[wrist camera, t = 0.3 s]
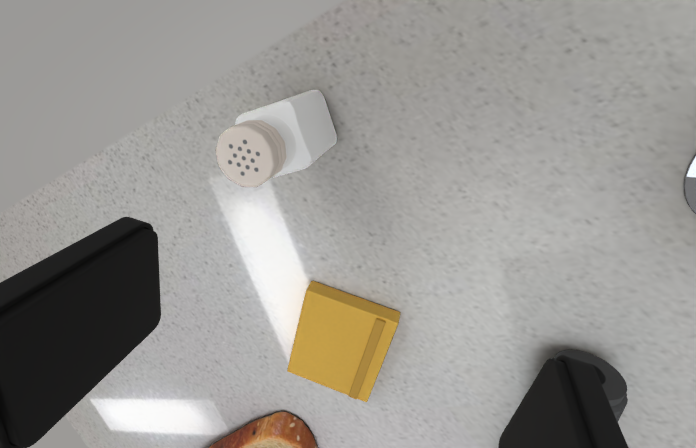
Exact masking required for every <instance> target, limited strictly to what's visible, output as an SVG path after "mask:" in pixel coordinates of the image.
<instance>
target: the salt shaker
mask: <svg viewBox="0 0 696 448" xmlns="http://www.w3.org/2000/svg"><path fill="white" fill-rule="evenodd" d="M336 143H337V135H336V132H335V128H334V125H333V122H332V119H331V116H330V113H329V110H328V107H327V104H326V101H325V98H324V95H323V94H322V93H321V92H320V90H310V91H307V92H304V93H301V94H298V95H295V96H292V97H290V98H287V99H284V100H281V101H278V102H275V103H272V104H269V105H266V106H263V107H261V108H258V109H255V110H252V111H249V112H246V113H243V114H240V115H239V117H238V118H237V119H236V125H234V126H231V127H230V128H229V129H227V130H226V131H225V132H223V133H222V134H221V135H220V137H219V140H218V143H217V146H216V149H215V150H216V155H217V160H218V165H219V167H220V168H221V170H222V171H223V172H224V174H225V175H226V177H227V178H228V179H229V180H231V181H233V182H234V183H236V184H238V185H240V186H241V187H258V186H260V185H261V184H263V183H264V182H266V181H267V180H269V179H270V178H273V177H278V176H282V175H286V174H289V173H293V172H296V171H299V170H302V169H305V168H307V167H309V166H310V165H311V164H312V163H313V162H314V161H316V160H317V159H318V158H319V157H320V156H321V155H323V154H324V153H325V152H326V151H327V150H329V149H330V148H331V147H332V146H333V145H334V144H336Z"/></svg>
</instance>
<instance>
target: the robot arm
mask: <svg viewBox="0 0 696 448" xmlns="http://www.w3.org/2000/svg"><path fill="white" fill-rule="evenodd" d="M160 317H161V307H160V283H159V259H158V237H157V234H156V232H154V231H153V227H152V226H151V225H150V224H149V223H146V222H143V221H140V220H136V219H133V218H130V217H124V218H121V219H119V220H117V221H115V222H113V223H111V224H110V225H108V226H106V227H104V228H102V229H100V230H98V231H96V232H95V233H93V234H91V235H89V236H87V237H85V238H83V239H81V240H80V241H78V242H76V243H74V244H72V245H70V246H68V247H66V248H65V249H63V250H61V251H59V252H57V253H55V254H53V255H51V256H50V257H48V258H46V259H44V260H42V261H40V262H38V263H36V264H35V265H33V266H31V267H29V268H27V269H25V270H23V271H22V272H20V273H18V274H16V275H14V276H12V277H10V278H8V279H7V280H5V281H3V282H1V283H0V448H27V447H30V446H31V445H33V444H34V443H36V442H37V441H38V440H39V439H41V438H42V437H43V436H44V435H45V434H46V433H47V432H48V431H49V430H50V429H51V428H52V427H53V426H54V425H55V424H56V423H57V422H58V421H59V420H60V419H61V418H62V417H63V416H65V415H66V414H67V413H68V412H69V411H70V410H71V409H72V408H73V407H74V406H75V405H76V404H77V403H78V402H79V401H80V400H81V399H82V398H83V397H84V396H85V395H86V394H87V393H88V392H90V391H91V390H92V389H93V388H94V387H95V386H96V385H97V384H98V383H99V382H100V381H101V380H102V379H103V378H104V377H105V376H106V375H107V374H108V373H109V372H110V371H111V370H112V369H113V368H115V367H116V366H117V365H118V364H119V363H120V362H121V361H122V360H123V359H124V358H125V357H126V356H127V355H128V354H129V353H130V352H131V351H132V350H133V349H134V348H135V347H136V346H137V345H139V344H140V343H141V342H142V341H143V340H144V339H145V338H146V337H147V336H148V335H149V334H150V333H151V332H152V331H153V330H154V329H155V328H156V326H157V325H158V323H159V321H160ZM499 448H628V446H627V444H626V441H625V439H624V437H623V434H622V432H621V429H620V427H619V425H618V422H617V420H616V418H615V415H614V413H613V410H612V408H611V406H610V403H609V401H608V398H607V396H606V394H605V391H604V389H603V387H602V384H601V382H600V379H599V377H598V375H597V372H596V370H595V368H594V367H593V365H591V364H590V363H587V362H584V361H581V360H577V359H574V358H571V357H568V356H565V355H560V356H558V357H557V358H556V360H555V359H548V360H547V361H546V363H545V364H544V366H543V367H542V369H541V371H540V372H539V374H538V376H537V377H536V379H535V381H534V382H533V384H532V386H531V387H530V389H529V391H528V392H527V394H526V395H525V397H524V399H523V400H522V402H521V404H520V405H519V407H518V409H517V410H516V412H515V414H514V415H513V417H512V418H511V420H510V422H509V423H508V425H507V427H506V428H505V430H504V432H503V433H502V435H501V438H500V441H499Z"/></svg>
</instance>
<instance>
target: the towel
mask: <svg viewBox="0 0 696 448" xmlns="http://www.w3.org/2000/svg"><path fill="white" fill-rule="evenodd" d="M399 318H400V312H398V311H395V310H393V309H390V308H387V307H384V306H381V305H379V304H376V303H373V302H370V301H368V300H365V299H362V298H359V297H357V296H354V295H351V294H348V293H345V292H343V291H340V290H337V289H334V288H332V287H329V286H326V285H323V284H320V283H318V282H315V281H312V282H311V283H310V285H309V286H308V288H307V290H306V294H305V298H304V302H303V306H302V311H301V315H300V319H299V323H298V327H297V332H296V336H295V340H294V344H293V349H292V353H291V357H290V361H289V365H288V370H287V371H288V372H291V373H293V374H296V375H298V376H301V377H303V378H306V379H308V380H311V381H314V382H316V383H319V384H321V385H324V386H326V387H329V388H331V389H334V390H337V391H339V392H342V393H344V394H347V395H349V397H352V398H354V399H360V400H362V401H365V402H367V401H368V398H369V396H370V393H371V391H372V388H373V386H374V383H375V381H376V378H377V376H378V373H379V371H380V368H381V366H382V363H383V361H384V358H385V356H386V353H387V351H388V348H389V346H390V343H391V341H392V338H393V336H394V333H395V331H396V328H397V326H398V323H399Z"/></svg>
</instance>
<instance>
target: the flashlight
mask: <svg viewBox="0 0 696 448" xmlns="http://www.w3.org/2000/svg"><path fill="white" fill-rule="evenodd" d="M560 355H565V356H568V357H571V358H574V359H577V360H581V361H584V362H587V363H590V364H591V365H593V367H594V368H595V370H596V372H597V375H598V377H599V379H600V382H601V384H602V387H603V389H604V391H605V394H606V396H607V398H608V401H609V403H610V406H611V408H612V410H613V413H614V415H615V418H616V420H617V422H618V420H619V418H620V416H621V414H622V412H623V410H624V408H625V406H626V404H627V400H628V399H627V397H626V396H627V393H626V392H627V385H626V382H625V380H624V378H623V377H622V376H621V374H620V373H619V372H618V371H617V370H616V369H615V368H614V367H613V366H611V365H610V364H609V363H607V362H606V361H604V360H602V359H600V358H599V357H597V356H594V355H592V354H589V353H586V352H583V351H578V350H564V351H561V352H559V353H557V354H556V356H555V358H552V359H555V360H556V358H557V357H558V356H560Z"/></svg>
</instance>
